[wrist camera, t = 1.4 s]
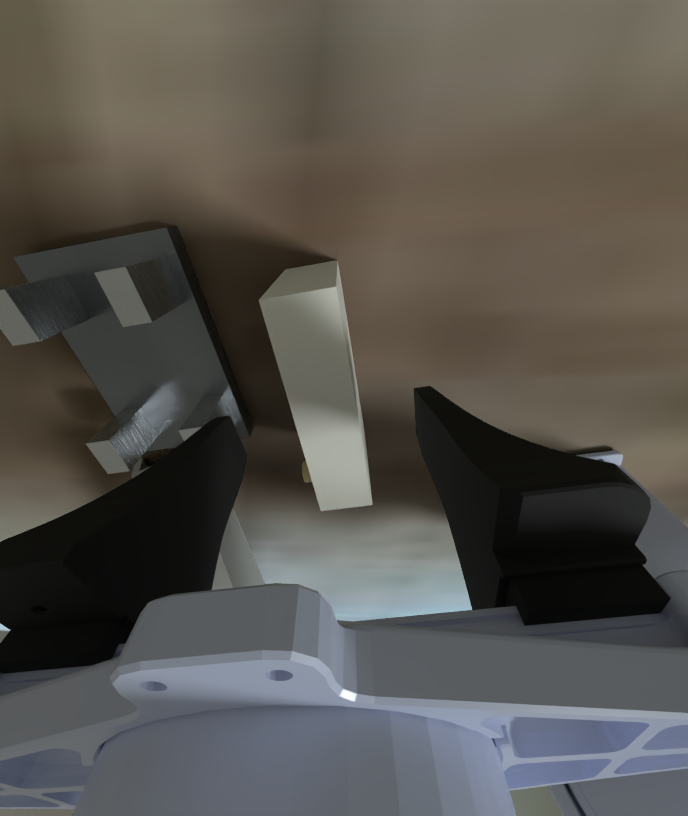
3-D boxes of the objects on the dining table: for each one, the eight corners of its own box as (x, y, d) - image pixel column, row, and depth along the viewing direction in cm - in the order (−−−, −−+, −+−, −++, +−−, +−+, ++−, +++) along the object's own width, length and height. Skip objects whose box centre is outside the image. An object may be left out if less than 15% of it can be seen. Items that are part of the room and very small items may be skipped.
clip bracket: (176, 226, 14) (125, 231, 11) (253, 427, 20) (235, 472, 17) (31, 254, 15) (-61, 268, 11) (146, 442, 21) (108, 489, 17)
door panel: (337, 259, 15) (335, 286, 10) (364, 430, 20) (372, 504, 15) (275, 271, 15) (243, 302, 10) (317, 437, 21) (310, 512, 16)
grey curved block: (132, 455, 21) (86, 601, 13) (208, 434, 22) (209, 556, 14) (214, 593, 30) (217, 732, 22) (264, 573, 31) (285, 697, 23)
